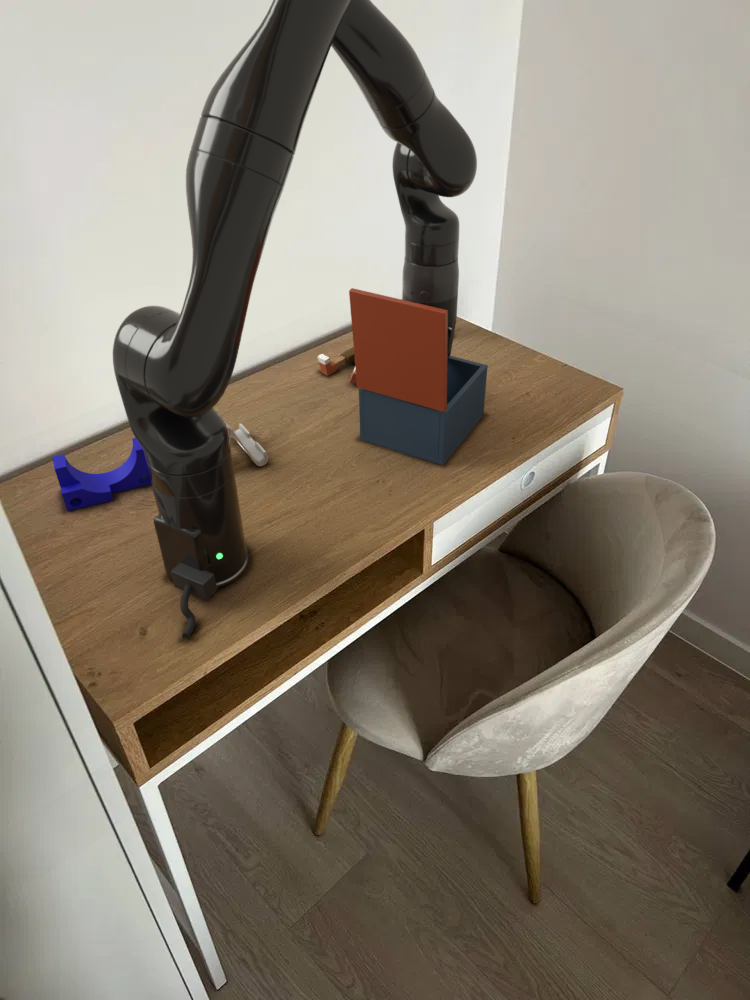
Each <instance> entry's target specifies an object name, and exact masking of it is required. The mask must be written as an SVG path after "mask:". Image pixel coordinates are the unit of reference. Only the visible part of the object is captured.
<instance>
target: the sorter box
mask: <svg viewBox="0 0 750 1000" xmlns="http://www.w3.org/2000/svg"><path fill="white" fill-rule="evenodd" d="M488 367H489V365H488V364H485V363H480V362H477V361H473V360H470V359H465V358H461V357H457V356H452V355H450V357H449V358H448V357H447V368H448V379H447V410H446V411H445V412H442V411H439V410H435V409H432V408H428V407H425V406H421V405H418V404H414V403H411V402H407V401H404V400H400V399H397V398H393V397H389V396H386V395H382V394H379V393H375V392H372V391H368V390H365V389H361V388H358V411H359V412H358V413H359V440H360V441H364V442H366V443H369V444H373V445H376V446H380V447H383V448H386V449H389V450H392V451H395V452H399V453H402V454H405V455H408V456H412V457H415V458H418V459H421V460H425V461H427V462H431V463H434V464H437V465H440V466H444V465H445V464H446V463H447V461H449V459H450V457H451V456H452V455H453V454H454V452H455V451H456V450H457V449H458V447H459V446H460V445H461V443H463V441H464V440H465V439H466V438H467V436H468V435H469V434H470V433H471V431H472V430H473V429H474V427H476V425H477V424H478V423H479V422H480V421H481V419H482V418H483V416H484V412H485V403H486V401H485V400H486V390H487V389H486V388H487V379H488Z"/></svg>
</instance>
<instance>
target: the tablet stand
mask: <svg viewBox="0 0 750 1000" xmlns="http://www.w3.org/2000/svg"><path fill="white" fill-rule="evenodd" d="M213 408H214V409H215V406H214V407H213ZM224 422H225V424H226V426H227V429H228V434H229V440H230V439H233V440H234V441H235V442H237V444H239V446H240V447H241V448H242V449H243V451H244V452H245V453H246V454H247V455H248V456H249V458H250V460H251V461H252V462H253V463H254V464H255V465H256V466H257V467H263V466H265V465H266V464H267V463H268V461H269V457H268V454H267V451H266V450H265V449H264V448H263V446H262V445H261V444H260V443H259V442H258V441H255V440H254V439H253V438H252V437H251V434H250V432H249V430H248V429H246V427H245V426H244V425H243V423H238V428H237V430H235V431H234V429H233V428H232V427H231V425H229V424H228V423H227V422H226V421H225V420H224Z"/></svg>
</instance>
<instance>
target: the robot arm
mask: <svg viewBox="0 0 750 1000" xmlns="http://www.w3.org/2000/svg"><path fill="white" fill-rule="evenodd" d="M331 48H332V49H333V50H334V52H335V54H336V55H337V56H338V57H339V59H340V61H341V63H343V65H344V66H345V68H346V70H347V71H348V72H349V74H350V75H351V77H352V79H353V81H354V82H355V83H356V85H357V87H358V89H359V91H360V92H361V94H362V95H363V98H364V99H365V101H366V103H367V104H368V107H369V108H370V110H371V112H372V114H373V115H374V117H375V118H376V120H377V122H378V124H379V126H380V127H381V129H382V131H383V132H384V133H385V135H386V136H387V137H388V138H390V139H391V140H392V141H394V142H396V145H395V146H394V149H393V154H392V165H391V166H392V167H391V168H392V176H393V182H394V186H395V191H396V195H397V199H398V204H399V208H400V212H401V215H402V219H403V222H404V261H403V266H402V267H403V268H402V283H401V284H402V287H401V289H402V294H401V295H402V297H401V298H402V299H401V300H405V301H410V302H414V303H418V304H423V305H427V306H431V307H436V308H440V309H444V310H448V335H447V357H448V358H449V357H450V356H452V355H451V354H452V348H453V343H454V336H455V330H456V325H457V317H458V299H459V280H460V268H459V267H460V266H459V247H460V246H459V245H460V218H459V216H458V215H457V213H455V211H454V210H452V209H451V208H450V207H448V206H447V205H446V204H445V203H444V202H443V201H442V200H441V198H440V197H443V198H456V197H459V196H461V195H462V194H464V193H466V192H467V191H468V190H469V188H470V187H471V186H472V185H473V183H474V180H475V178H476V175H477V170H478V159H477V153H476V152H477V151H476V149H475V146H474V143H473V141H472V139H471V138H470V135H469V133H467V131H466V130H465V128H464V127H463V126H462V125H461V123H460V122H459V121H458V120H457V119H456V117H455V116H454V115H453V114H452V112H451V111H450V110H449V109H448V108H447V106H446V105H445V104H443V103H442V101H441V100H440V99H439V98H438V96H437V94H436V91H435V89H434V88H433V85H432V83H431V81H430V79H429V77H428V74H427V72H426V71H425V68H424V66H423V64H422V62H421V60H420V58H419V56H418V53H417V52H416V51H415V49H414V47H413V46H412V45H411V43H410V42H409V41H408V39H407V38H406V37H405V36H404V35H403V33H402V32H401V31H400V29H398V27H396V26H395V24H394V23H392V21H391V20H390V19H389V18H388V17H387V16H386V15H385V14H384V13H383V12H382V11H381V10H380V9H379V8H378V7H377V6H376V4H374V2H372V0H272V2H271V4H270V6H269V9H268V11H267V13H266V14H265V16H264V18H263V19H262V20H261V23H260V24H259V26H258V27H257V28H256V29H255V31H254V33H253V34H252V35H251V36H250V38H249V39H248V40H247V41H246V43H245V44H244V45H243V46H242V47H241V48H240V50H239V51H238V53H237V54H235V56H234V57H233V59H232V60H231V61H230V63H229V64H228V65H227V67H226V68H225V69H224V70H223V71H222V73H220V76H219V77H218V79H217V80H216V82H214V84H213V86H212V87H211V88H210V89H211V90H210V91H209V93H208V94H207V97H206V99H205V102H204V105H203V107H202V110H201V113H200V117H199V120H198V124H197V127H196V129H195V133H194V136H193V140H192V143H191V147H190V150H189V153H188V158H187V163H186V167H185V168H186V169H185V194H186V207H187V213H188V214H187V215H188V221H189V227H190V228H189V229H190V235H191V246H192V247H191V249H192V258H191V259H192V260H191V261H192V263H191V271H190V277H189V283H188V286H187V291H186V294H185V297H184V300H183V304H182V307H181V311H180V312H178V311H176V310H174V309H171V308H169V307H165V306H162V305H146V306H142V307H140V308H137V309H136V310H134V311H132V312H131V313H129V314H128V315H127V316H126V317H125V318H124V319H123V320H122V322H121V324H120V325H119V327H118V329H117V331H116V333H115V336H114V339H113V345H112V365H113V372H114V376H115V377H114V378H115V381H116V384H117V387H118V392H119V394H120V398H121V401H122V405H123V408H124V411H125V415H126V418H127V421H128V424H129V427H130V430H131V432H132V434H133V436H134V438H136V439H137V441H138V442H139V444H140V445H141V447H142V448H143V450H144V453H145V457H146V461H147V466H148V470H149V474H150V478H151V483H152V484H151V486H152V491H153V495H154V499H155V503H156V508H157V513H158V514H157V515H156V516H155V517H154V518H153V526H154V528H155V533H156V538H157V542H158V546H159V550H160V553H161V558H162V562H163V565H164V569H165V574H166V577H167V579H169V580H172V581H173V584H174V588H176V589H179V590H181V591H182V593H181V597H180V602H179V603H180V604H179V606H180V611H181V613H182V615H183V616H184V617H185V618H186V620H187V623H186V626H185V628H184V629H183V632H182V634H181V636H182V638H183V639H190V638H191V635H192V634H193V632H194V630H195V627H196V617H195V614H194V613H193V612H192V610H191V609H190V607H189V600H190V596H191V595H192V596H195V597H197V598H199V599H202V600H204V601H208V600H209V599H210V598H211V597H212V596H213V595H214V594H215V593H216V592H217V591H218V589H219V588H222V587H224V586H227V585H230V584H232V583H233V582H234V581H236V580H237V579H238V578H240V577H241V576H242V574H244V572H245V570H246V569H247V568H248V563H249V552H248V549H247V546H246V538H245V531H244V525H243V520H242V514H241V513H242V512H241V507H240V500H239V495H238V494H239V493H238V487H237V482H236V476H235V467H234V461H233V455H232V449H231V442H230V441H231V440H230V439H229V434H228V429H227V426H226V424H225V422H226V421H225V420H224V419H223V417H222V416H221V415H220V414H219V413H218V412H217V410H216V409H215V406H216V405H218V403H219V401H220V400H221V399H222V397H223V396H224V394H225V392H226V390H227V388H228V386H229V384H230V382H231V379H232V377H233V373H234V370H235V366H236V364H237V363H236V362H237V358H238V354H239V351H240V345H241V341H242V336H243V331H244V328H245V322H246V317H247V313H248V308H249V304H250V300H251V296H252V295H251V294H252V292H253V287H254V283H255V280H256V276H257V273H258V269H259V265H260V263H261V259H262V256H263V252H264V249H265V245H266V243H267V242H266V241H267V238H268V235H269V232H270V229H271V225H272V223H273V219H274V216H275V214H276V210H277V208H278V206H279V202H280V200H281V197H282V194H283V192H284V189H285V186H286V182H287V180H288V177H289V174H290V171H291V167H292V164H293V160H294V158H295V155H296V151H297V149H298V144H299V141H300V138H301V134H302V130H303V127H304V124H305V121H306V117H307V115H308V112H309V109H310V106H311V104H312V101H313V98H314V95H315V92H316V89H317V86H318V84H319V80H320V79H321V75H322V73H323V70H324V69H323V68H324V67H325V64H326V61H327V58H328V55H329V54H330V53H329V52H330V50H331ZM213 407H214V408H213ZM224 421H225V422H224Z"/></svg>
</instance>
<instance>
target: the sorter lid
mask: <svg viewBox="0 0 750 1000" xmlns="http://www.w3.org/2000/svg"><path fill="white" fill-rule="evenodd" d="M348 295H349V297H348V298H349V307H350V308H349V309H350V317H351V318H350V319H351V328H352V329H351V331H352V342H353V343H352V344H353V347H354V355H355V361H354V368H355V367H356V379H357V384H356V387H357V388H358V389H359V388H361V389H365V390H368V391H372V392H375V393H379V394H382V395H386V396H389V397H393V398H397V399H400V400H404V401H407V402H411V403H414V404H418V405H421V406H425V407H428V408H432V409H435V410H439V411H442V412H445V411H446V410H447V335H448V310H444V309H440V308H436V307H431V306H427V305H423V304H418V303H414V302H410V301H405V300H402V299H400V298H396V297H392V296H388V295H383V294H379V293H375V292H371V291H367V290H362V289H358V288H353V287H351V288H350V289H349V290H348Z"/></svg>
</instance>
